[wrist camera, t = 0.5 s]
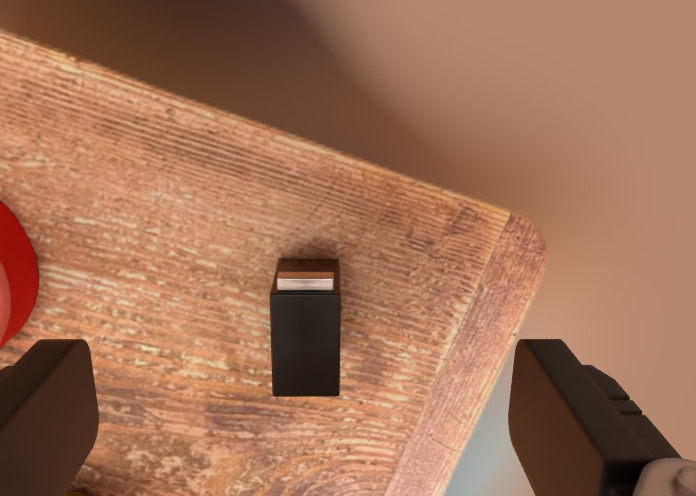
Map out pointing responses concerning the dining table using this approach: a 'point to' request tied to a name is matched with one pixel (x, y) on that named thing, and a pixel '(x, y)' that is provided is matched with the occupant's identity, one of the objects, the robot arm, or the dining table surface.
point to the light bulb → (73, 493)
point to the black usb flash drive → (305, 328)
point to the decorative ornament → (15, 276)
